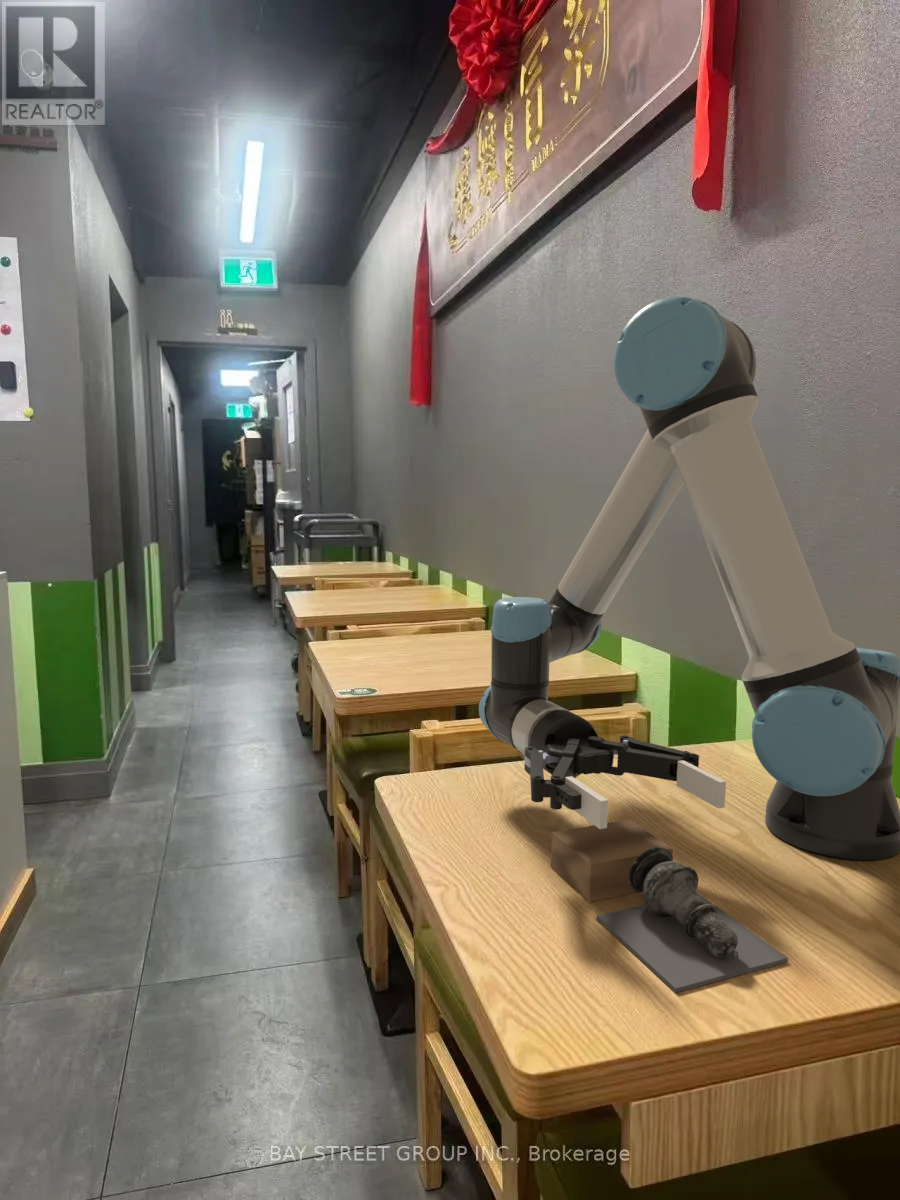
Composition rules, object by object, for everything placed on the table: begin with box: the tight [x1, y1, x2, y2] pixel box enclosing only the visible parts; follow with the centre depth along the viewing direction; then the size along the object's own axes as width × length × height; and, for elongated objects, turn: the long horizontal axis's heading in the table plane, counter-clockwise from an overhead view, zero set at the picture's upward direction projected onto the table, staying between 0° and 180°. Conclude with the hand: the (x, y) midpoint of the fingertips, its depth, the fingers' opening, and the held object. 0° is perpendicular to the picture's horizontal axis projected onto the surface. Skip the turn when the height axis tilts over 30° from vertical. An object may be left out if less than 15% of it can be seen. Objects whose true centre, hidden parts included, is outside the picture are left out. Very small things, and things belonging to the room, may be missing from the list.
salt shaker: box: [628, 846, 739, 958], centre depth 72 cm, size 6×6×12 cm
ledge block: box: [550, 818, 674, 903], centre depth 84 cm, size 8×10×4 cm
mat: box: [596, 892, 789, 993], centre depth 72 cm, size 12×12×1 cm
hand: (665, 804), depth 75 cm, fingers open, 13 cm apart
